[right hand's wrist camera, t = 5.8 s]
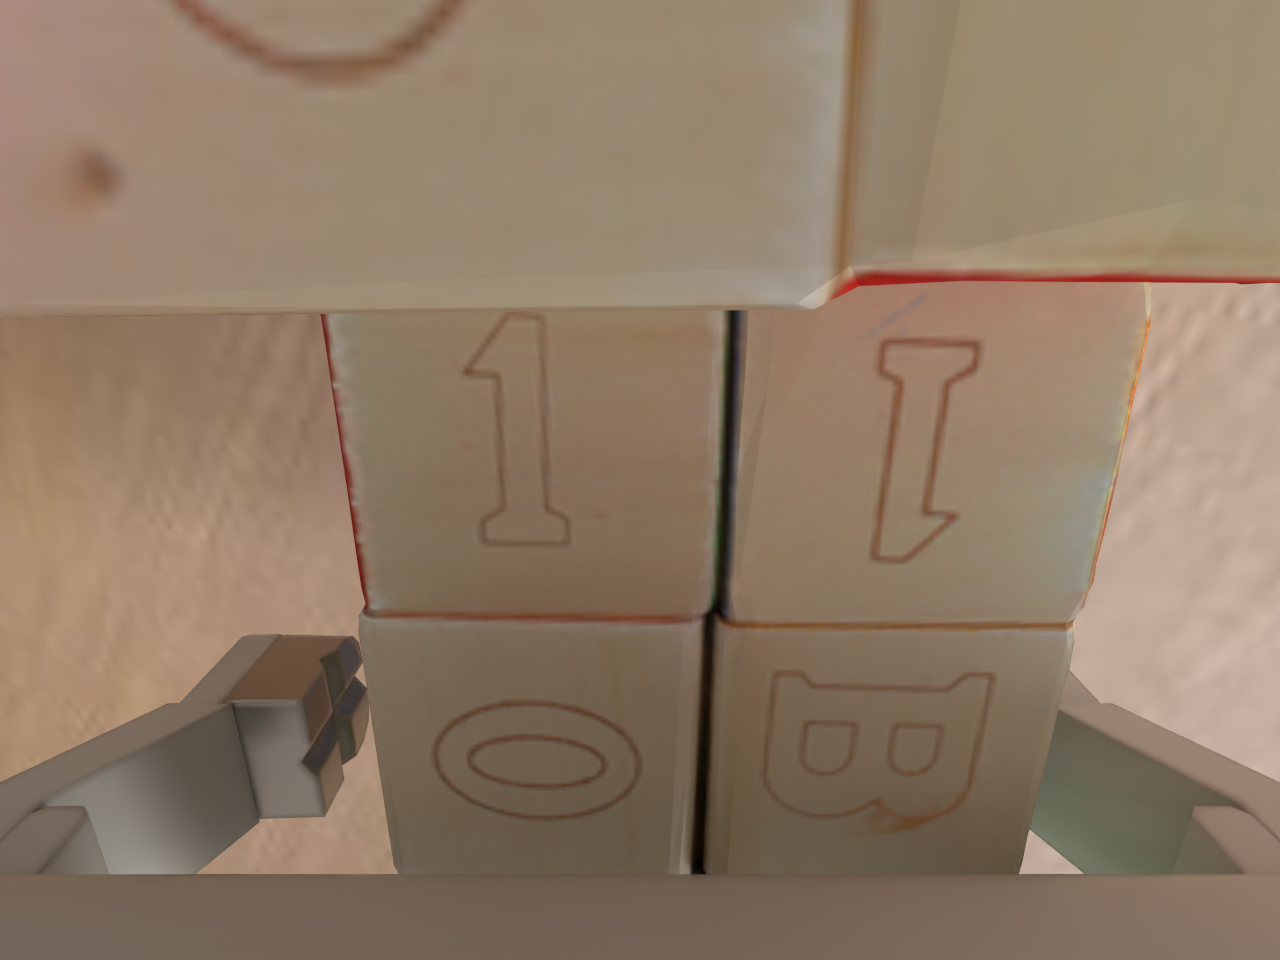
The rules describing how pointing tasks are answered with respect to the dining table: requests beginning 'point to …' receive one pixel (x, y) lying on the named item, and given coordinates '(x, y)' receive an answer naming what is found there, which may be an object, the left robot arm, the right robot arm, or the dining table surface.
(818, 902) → the right robot arm
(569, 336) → the stack of blocks
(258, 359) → the dining table surface
